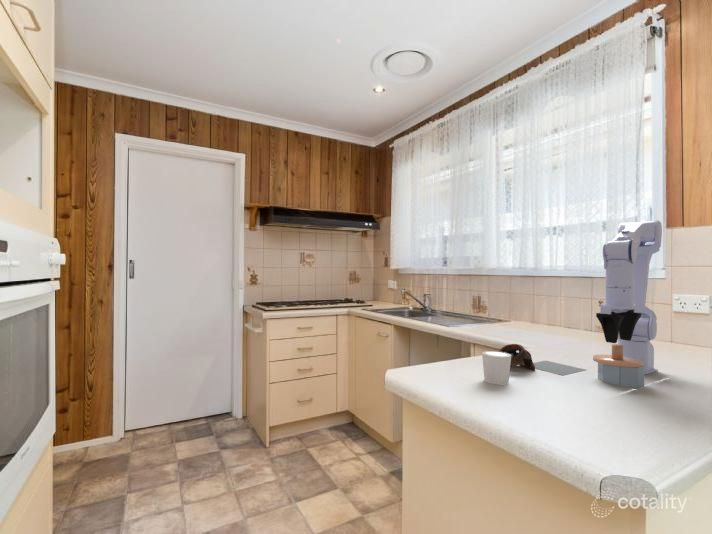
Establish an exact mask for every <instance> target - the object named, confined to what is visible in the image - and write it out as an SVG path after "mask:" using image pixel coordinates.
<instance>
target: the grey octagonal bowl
mask: <svg viewBox="0 0 712 534" xmlns="http://www.w3.org/2000/svg"><path fill="white" fill-rule="evenodd" d="M597 379H598V380H599V381H602V382H603V383H605V384H610V385H613V386H618V387H624V388H625V387H627V388H633V390H638V389H641V388H644V387H645V374H644V366H643V367H640V368H626V367H617V366H611V365H606V364H601V363H598V362H597Z"/></svg>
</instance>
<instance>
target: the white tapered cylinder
mask: <svg viewBox="0 0 712 534" xmlns="http://www.w3.org/2000/svg"><path fill="white" fill-rule="evenodd" d="M481 355H482V365H483V366H482V367H483V368H482V369H483V378H484V380H483V381H484V382H486V383H488V384H491V383H492V384H493V385H496V384H505V385H508V384H509V380H510V379H509V378H510V372H511V367H510V363H511V354H508V353H505V352H499V350H497V351H496V350H486V351H483V352H481ZM507 383H508V384H507Z"/></svg>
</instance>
